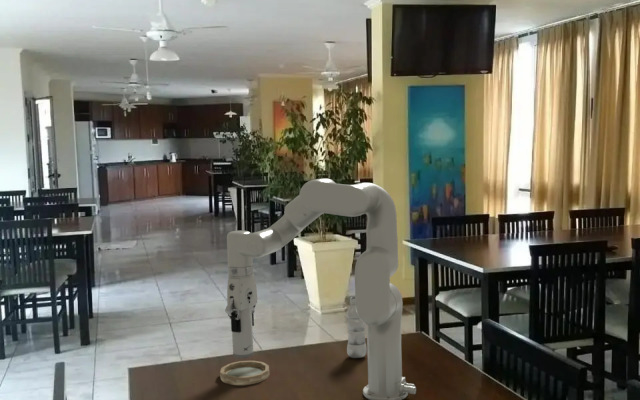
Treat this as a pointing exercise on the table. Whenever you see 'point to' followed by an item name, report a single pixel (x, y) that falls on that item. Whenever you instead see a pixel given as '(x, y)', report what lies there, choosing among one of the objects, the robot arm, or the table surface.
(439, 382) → the table surface
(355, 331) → the plastic bottle
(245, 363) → the round tray
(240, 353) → the travel mug
